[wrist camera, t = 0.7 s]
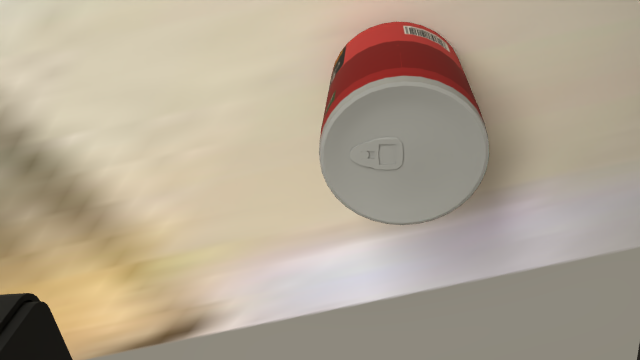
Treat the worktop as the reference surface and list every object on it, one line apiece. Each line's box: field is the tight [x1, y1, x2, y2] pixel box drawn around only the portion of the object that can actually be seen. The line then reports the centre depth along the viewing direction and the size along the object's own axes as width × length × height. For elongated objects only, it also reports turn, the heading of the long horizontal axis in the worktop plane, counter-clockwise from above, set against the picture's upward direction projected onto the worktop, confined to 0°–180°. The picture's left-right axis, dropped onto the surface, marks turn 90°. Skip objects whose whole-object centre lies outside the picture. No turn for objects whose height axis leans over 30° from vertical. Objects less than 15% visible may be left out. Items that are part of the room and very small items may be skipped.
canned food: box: [319, 22, 489, 225], centre depth 33 cm, size 8×8×11 cm
